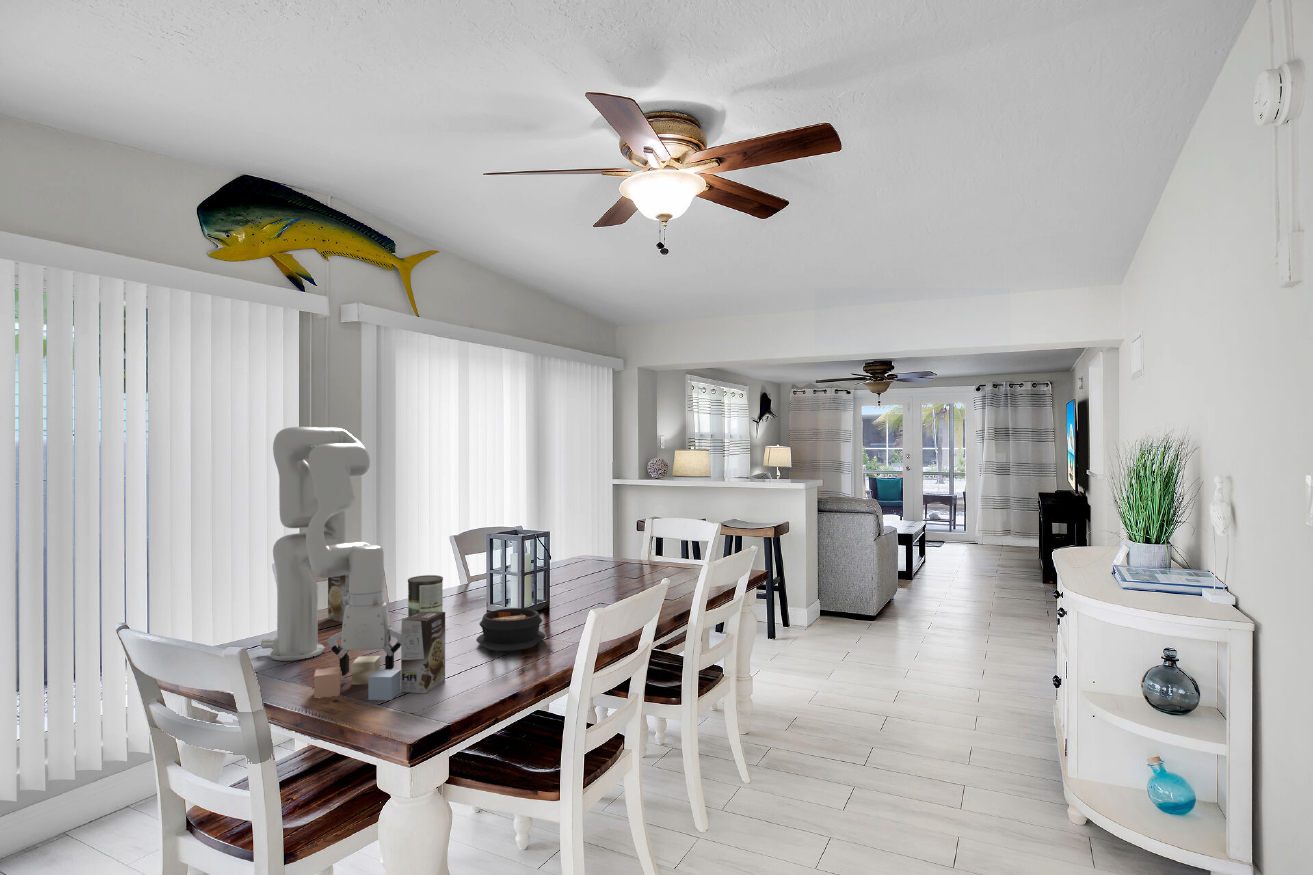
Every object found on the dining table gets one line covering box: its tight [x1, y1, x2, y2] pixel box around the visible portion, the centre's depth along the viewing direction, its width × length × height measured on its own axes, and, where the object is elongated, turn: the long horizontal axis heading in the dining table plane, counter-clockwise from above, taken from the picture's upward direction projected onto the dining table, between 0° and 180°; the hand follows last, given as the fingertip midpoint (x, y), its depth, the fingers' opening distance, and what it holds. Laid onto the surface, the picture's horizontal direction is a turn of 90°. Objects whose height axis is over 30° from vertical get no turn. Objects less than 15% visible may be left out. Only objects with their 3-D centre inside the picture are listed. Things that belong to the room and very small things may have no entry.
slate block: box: [367, 669, 401, 701], centre depth 154 cm, size 5×5×5 cm
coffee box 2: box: [400, 611, 446, 695], centre depth 160 cm, size 9×6×16 cm
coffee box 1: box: [327, 575, 349, 623], centre depth 223 cm, size 9×6×16 cm
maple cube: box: [351, 655, 382, 685], centre depth 164 cm, size 5×5×5 cm
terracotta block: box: [313, 666, 342, 699], centre depth 155 cm, size 5×5×5 cm
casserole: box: [475, 607, 546, 652], centre depth 193 cm, size 25×19×8 cm
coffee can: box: [407, 574, 444, 617], centre depth 216 cm, size 10×10×14 cm
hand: (367, 672), depth 164 cm, fingers open, 9 cm apart
